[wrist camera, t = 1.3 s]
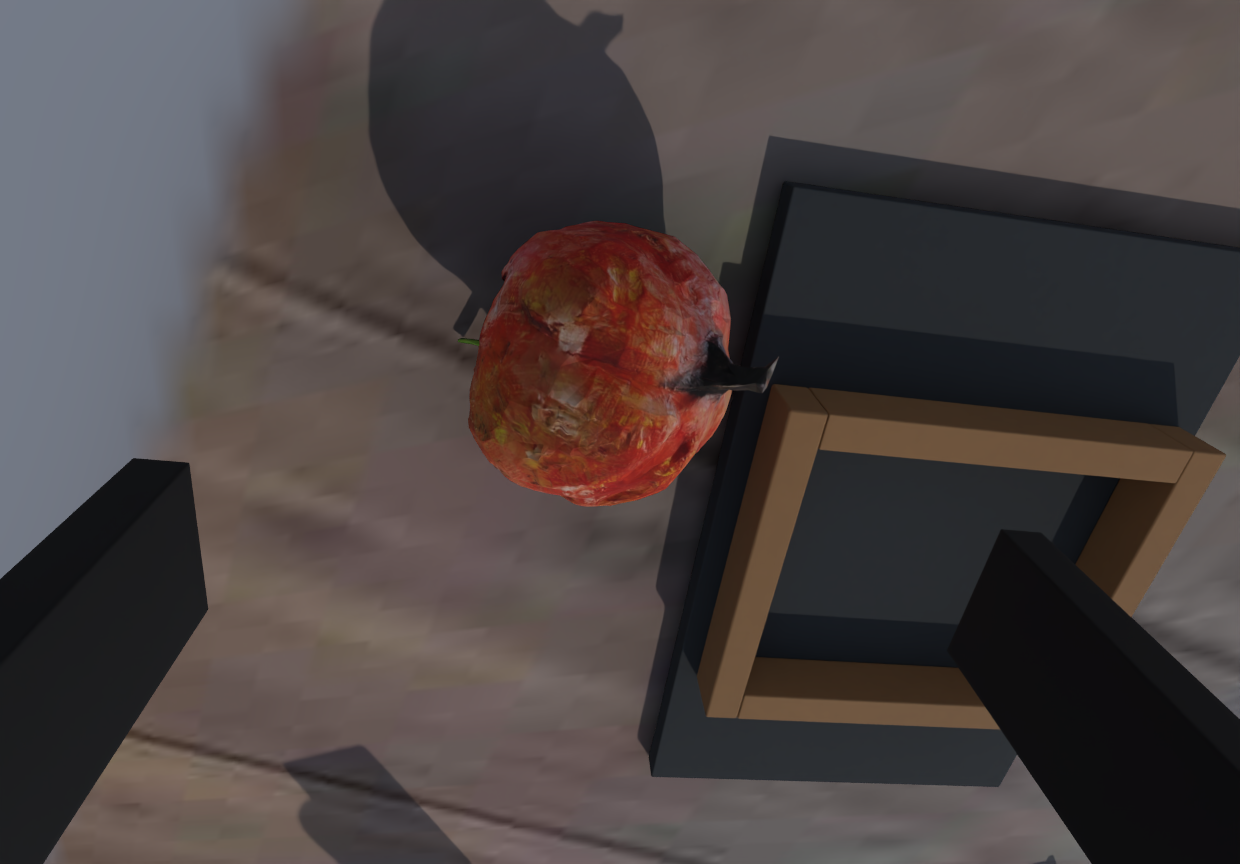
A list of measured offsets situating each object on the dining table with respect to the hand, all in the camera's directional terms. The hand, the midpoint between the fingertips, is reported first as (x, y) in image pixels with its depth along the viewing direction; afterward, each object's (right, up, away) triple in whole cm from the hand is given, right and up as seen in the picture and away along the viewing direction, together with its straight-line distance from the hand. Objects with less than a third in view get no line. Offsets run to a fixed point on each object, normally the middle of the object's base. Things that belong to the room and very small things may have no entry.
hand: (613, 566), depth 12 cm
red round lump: (-1, +6, +10) cm, 12 cm away
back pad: (+11, -2, +15) cm, 19 cm away
